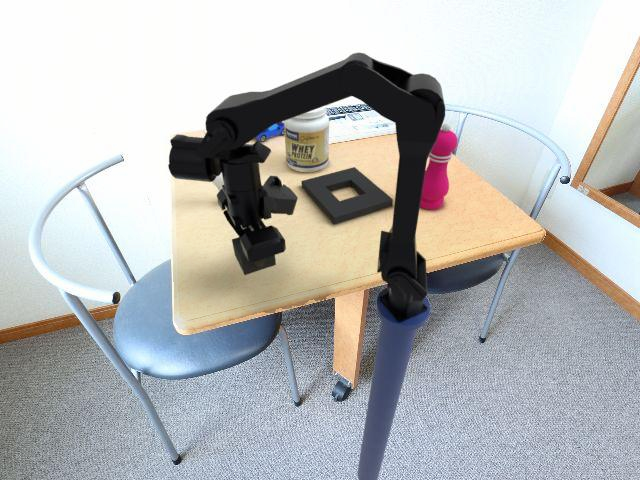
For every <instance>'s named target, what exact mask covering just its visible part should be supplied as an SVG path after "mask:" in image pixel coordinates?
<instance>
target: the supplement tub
mask: <svg viewBox="0 0 640 480" xmlns="http://www.w3.org/2000/svg"><path fill="white" fill-rule="evenodd" d="M283 123H284V132H285V135H284V144H285V160H286V163H287V166H288V167H289V168H290V169H292V170H293V171H296V172H301V173H315V172H319V171H321V170H323V169H325V168H326V167H327V166H328V164H329V160H330V158H329V157H330V156H329V155H330V154H329V153H330V151H329V150H330V145H329V144H330V118H329V116H328V114H327V105H326V106H323V107H321V108H318V109H315V110H312V111H310V112H307V113H304V114H301V115H299V116H296V117H293V118H290V119H288V120H285V121H283Z"/></svg>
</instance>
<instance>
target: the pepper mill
mask: <svg viewBox="0 0 640 480" xmlns="http://www.w3.org/2000/svg"><path fill="white" fill-rule="evenodd" d="M451 128H452V127H451V125H450V124H449V123H447V122H445V123H443V124H442V127H441V130H440V132H439V135H438V138H437V141H436V143H435V145H434V147H433V149H432V150H431V152H430V154H429V156H428V159H429V161H428V165H427V166H426V170H425V177H424V183H423V190H422V196H421V203H420V208H423V209H425V210H431V211H434V210H438V209H441V208H442V207H443V205H444V201H445V197H446V196H447V195H448V193H449V190H450V180H449V177H448V164H449V162H450V161H451V160H452V157H453V152H454V151H455V150H456V148H457V147H458V140H459V139H458V137H457V134H456V133H455V132H454V131H453V130H451Z"/></svg>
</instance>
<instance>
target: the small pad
mask: <svg viewBox="0 0 640 480" xmlns="http://www.w3.org/2000/svg"><path fill="white" fill-rule="evenodd" d="M241 238H242V236H241V237H239V236H238V237H235V238H233V239H232V238H231V243H232V248H233V252H234V256H235V258H236V261H237V262H238V265H239V267H240V269H241V271H242V273H243V275H244V276H246V275H250V274H253V273H257V272H260V271H262V270H265V269H267V268H270V267H274V266H276V265H277V261H276V260H277V259H276V255H273V256H270V257H267V258H266V259H265V263H264V266H262V267H259V268H258V267H257V266H256V265H255V264H254V263H253V262H250V261H248V259H247V257H246V255H245V254H244V252H243V250H242V248H241V246H240V243H241V241H240V239H241Z"/></svg>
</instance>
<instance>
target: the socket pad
mask: <svg viewBox="0 0 640 480" xmlns="http://www.w3.org/2000/svg"><path fill="white" fill-rule="evenodd" d="M300 183H301V188H302V190H303V191H304V192H305V193H306V194H307V195H308V197H309V198H310V199H311V200H312V201H313V203H315V204H316V205H317V207H318V208H319V209H320V210H321V211H322V213H324V214H325V216H326V217H327V219H329V220H330V222H332V224H333V225H338V224H340V223H344V222H346V221H351V220H353V219H356V218H359V217H362V216H366V215H369V214H372V213H374V212H378V211H382V210H385V209H388V208H391V207H393V205H394V204H393V202H394V199H393V198H392V197H391V196H390V195H389V194H388V193H386V192H385V191H384V190H383V189H381V188H380V187H379V186H378V185H377V184H375V183H374V182H373V181H372V180H370V178H368V177H367V176H366V175H365V174H364V173H362V172H361V170H359V169H357V168H356V167H355V166H353V167H349V168H345V169H342V170H338V171H334V172H330V173H326V174H323V175H319V176H316V177H312V178H307V179H303V180H301V182H300ZM348 187H351V188H352V189H353V190H354V191H355V192H356V193H357V194H358V195H356V196H352V197H349V198H345V199H342V200H339V198H337V197H336V196H335V194H333V192H335V191H338V190H341V189H344V188H348Z"/></svg>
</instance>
